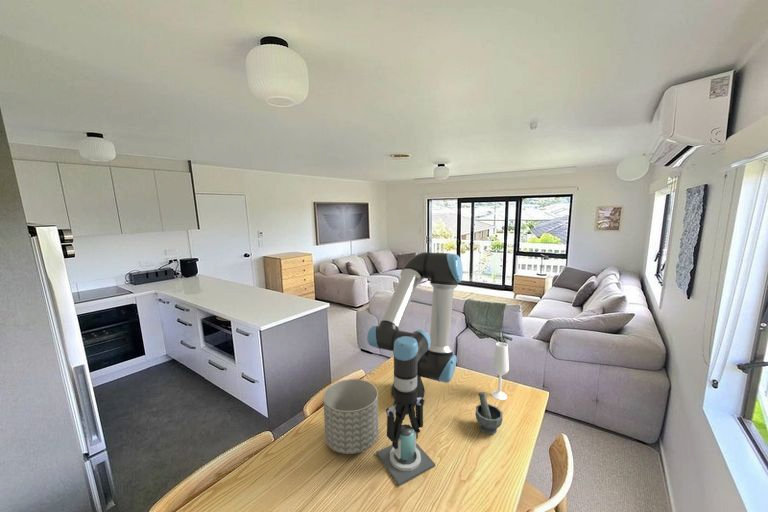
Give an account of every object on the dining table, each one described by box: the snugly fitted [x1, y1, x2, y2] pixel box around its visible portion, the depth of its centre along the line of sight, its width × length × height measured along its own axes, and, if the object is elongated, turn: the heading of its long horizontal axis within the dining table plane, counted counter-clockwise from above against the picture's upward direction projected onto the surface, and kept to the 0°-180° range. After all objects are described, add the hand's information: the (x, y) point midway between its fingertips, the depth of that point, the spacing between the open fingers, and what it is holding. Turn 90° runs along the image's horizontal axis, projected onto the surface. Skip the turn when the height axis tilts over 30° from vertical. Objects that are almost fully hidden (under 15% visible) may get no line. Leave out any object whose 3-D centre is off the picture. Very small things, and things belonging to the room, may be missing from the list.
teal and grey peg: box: [399, 423, 414, 460], centre depth 96 cm, size 6×6×9 cm
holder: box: [376, 442, 436, 487], centre depth 97 cm, size 14×14×2 cm
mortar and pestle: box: [475, 391, 503, 435], centre depth 111 cm, size 11×9×12 cm
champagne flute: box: [490, 341, 510, 401], centre depth 130 cm, size 7×7×24 cm
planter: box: [323, 378, 379, 455], centre depth 104 cm, size 19×19×18 cm
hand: (405, 451), depth 96 cm, fingers closed on teal and grey peg, 5 cm apart
